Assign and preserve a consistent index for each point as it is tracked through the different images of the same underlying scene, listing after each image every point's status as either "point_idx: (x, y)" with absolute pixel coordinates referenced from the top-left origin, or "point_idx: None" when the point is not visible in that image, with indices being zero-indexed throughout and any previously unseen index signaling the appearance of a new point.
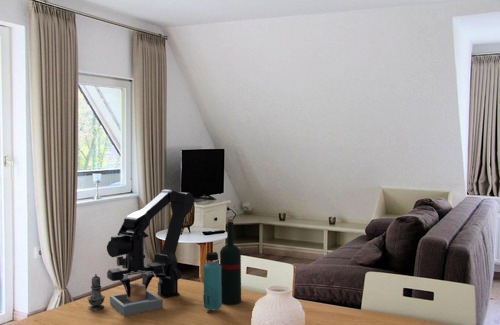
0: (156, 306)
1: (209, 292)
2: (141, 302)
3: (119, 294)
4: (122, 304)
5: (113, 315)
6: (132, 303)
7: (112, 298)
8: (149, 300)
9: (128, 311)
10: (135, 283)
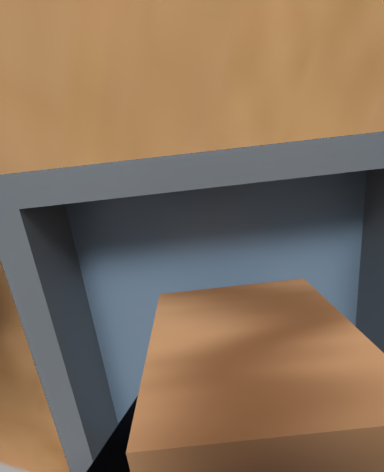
0: None
1: None
2: (284, 271)
3: (95, 173)
4: (82, 468)
5: (45, 410)
6: (212, 264)
7: (7, 265)
8: (358, 252)
9: None
10: (324, 461)
